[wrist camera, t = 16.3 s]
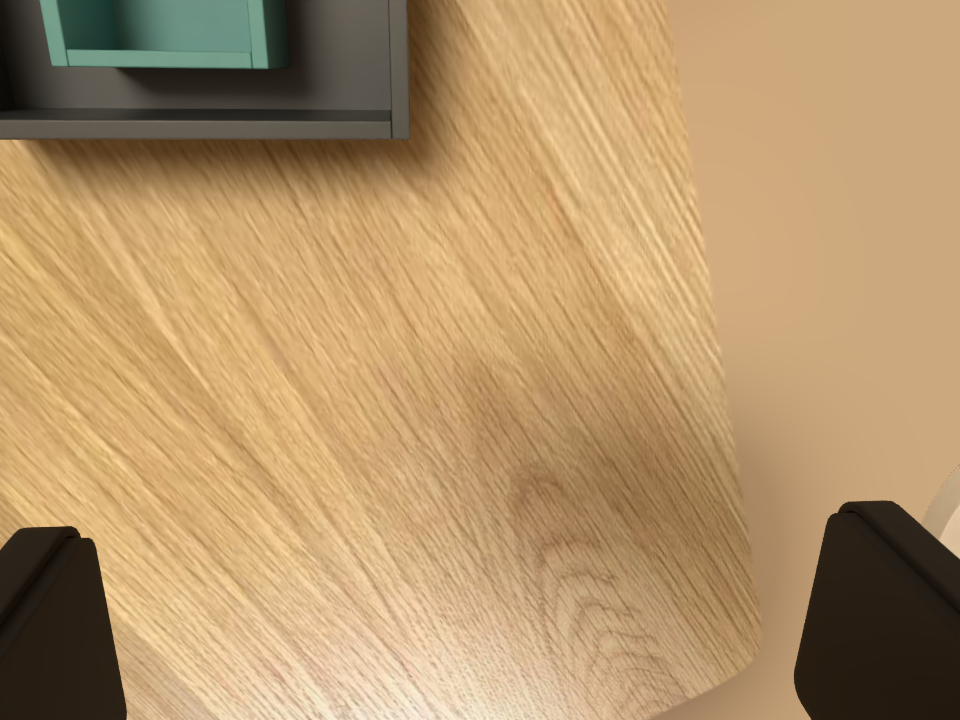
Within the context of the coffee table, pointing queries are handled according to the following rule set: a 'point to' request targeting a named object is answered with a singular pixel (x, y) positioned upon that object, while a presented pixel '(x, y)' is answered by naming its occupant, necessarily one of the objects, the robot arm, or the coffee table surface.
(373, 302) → the coffee table surface
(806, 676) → the robot arm
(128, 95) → the big bin
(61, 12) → the small bin
